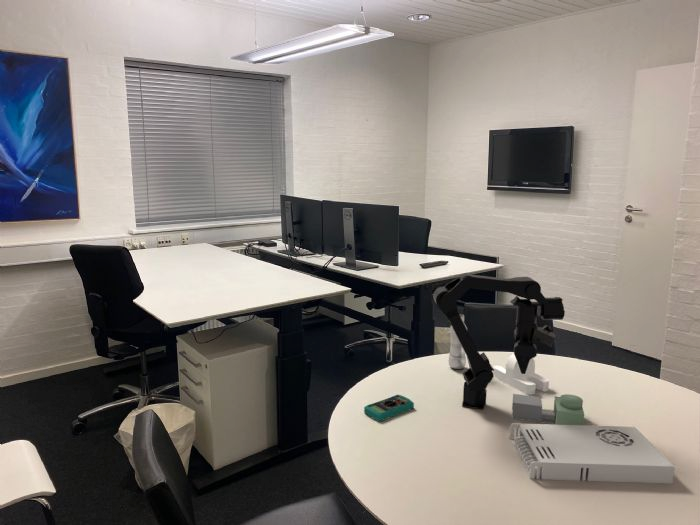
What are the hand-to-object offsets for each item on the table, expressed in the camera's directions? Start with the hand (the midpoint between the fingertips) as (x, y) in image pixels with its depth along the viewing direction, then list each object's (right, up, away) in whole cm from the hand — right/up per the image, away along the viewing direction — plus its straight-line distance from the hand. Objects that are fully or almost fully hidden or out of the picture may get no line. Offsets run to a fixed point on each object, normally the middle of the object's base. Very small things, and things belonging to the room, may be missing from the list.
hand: (523, 368), depth 158 cm
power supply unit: (+6, -18, -28) cm, 34 cm away
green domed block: (+5, -13, -7) cm, 16 cm away
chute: (-1, -13, -5) cm, 14 cm away
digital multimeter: (-41, -13, -2) cm, 43 cm away
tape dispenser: (+5, -9, +19) cm, 22 cm away
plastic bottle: (-14, -7, +32) cm, 36 cm away
